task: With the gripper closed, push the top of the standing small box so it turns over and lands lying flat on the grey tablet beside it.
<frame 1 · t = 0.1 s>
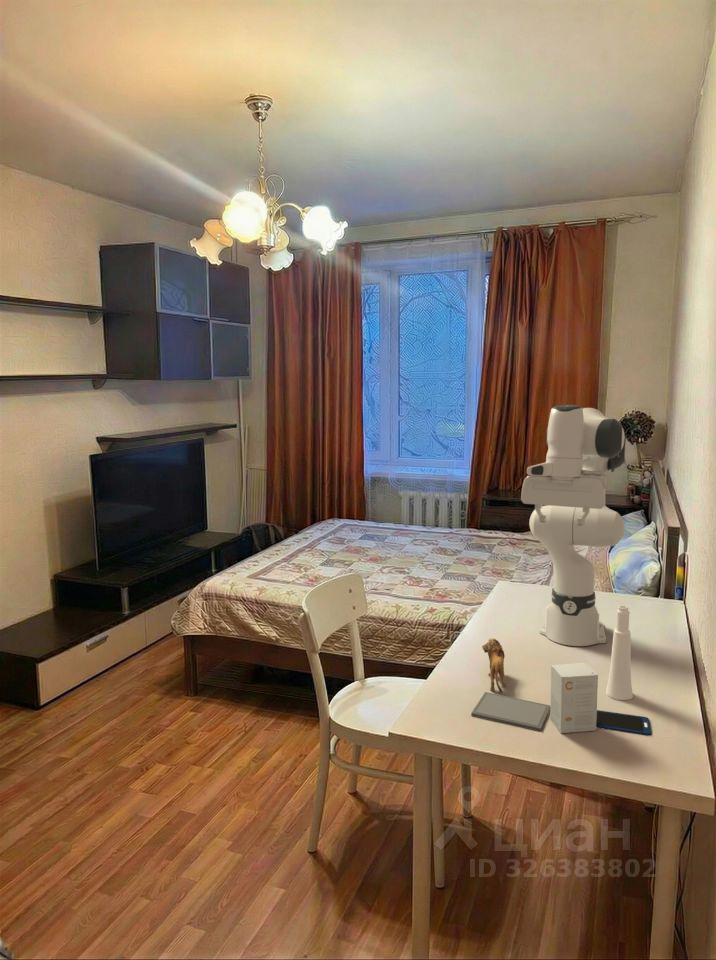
hand: (561, 524, 165), 39 cm above the table, tool pointing down, fingers open, 8 cm apart
grey tablet: (511, 711, 149), on the table
cosmetic bottle: (619, 695, 157), on the table
lion figurine: (494, 680, 165), on the table
cell phone: (616, 724, 144), on the table
small box: (572, 725, 143), on the table
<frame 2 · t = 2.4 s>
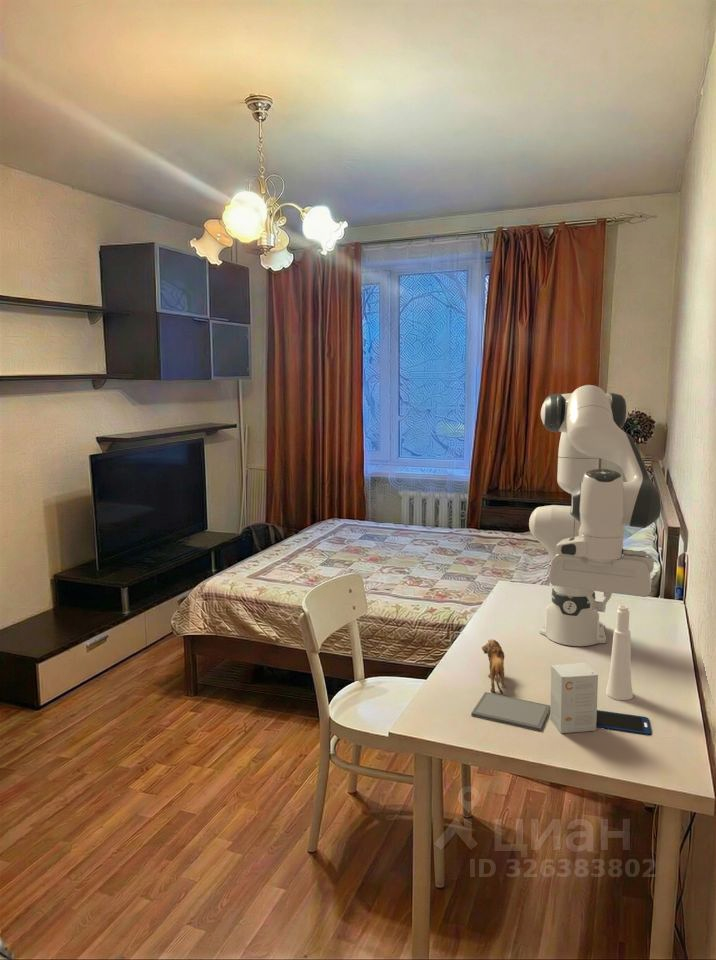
hand: (597, 610, 139), 26 cm above the table, tool pointing down, fingers closed
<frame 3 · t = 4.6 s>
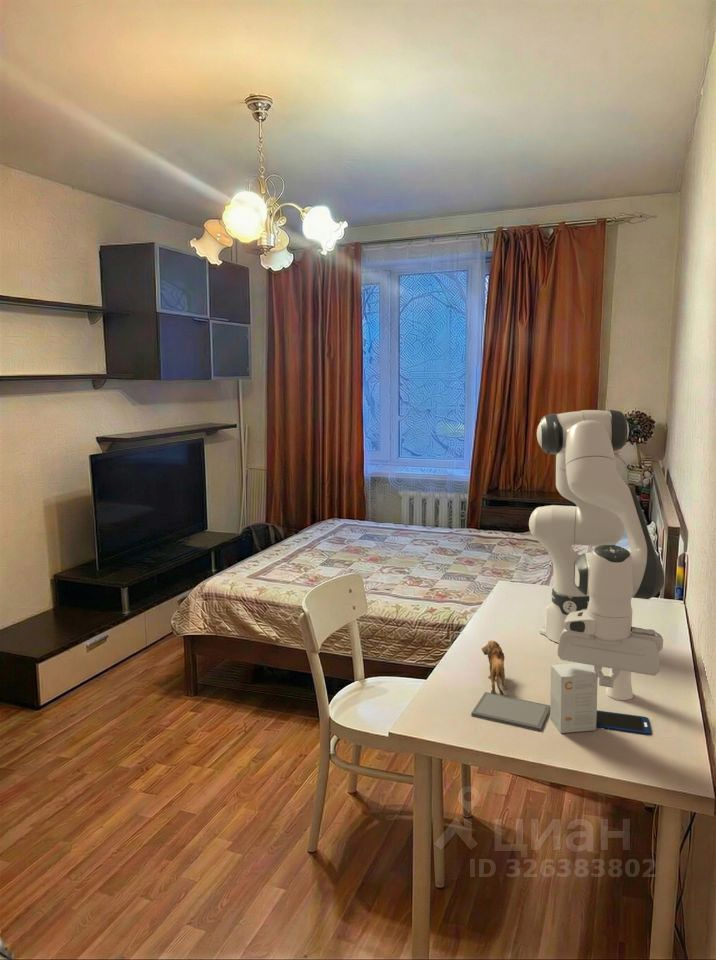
hand: (606, 685, 139), 11 cm above the table, tool pointing down, fingers closed
small box: (572, 725, 143), on the table, touching gripper
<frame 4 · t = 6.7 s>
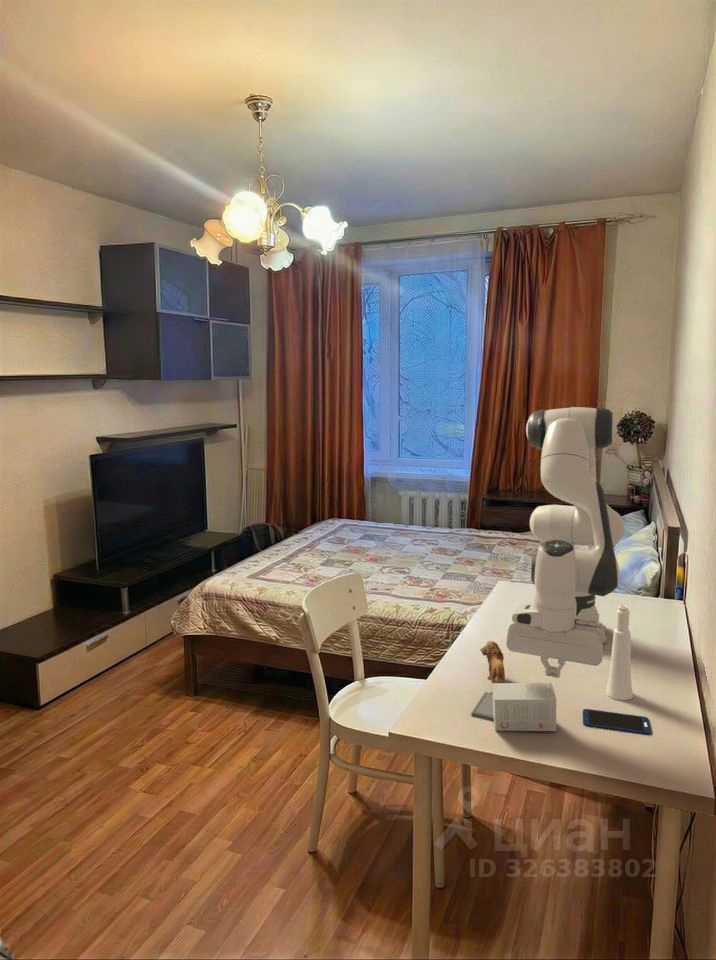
hand: (552, 675, 144), 11 cm above the table, tool pointing down, fingers closed
small box: (555, 706, 141), point 5 cm above the table, touching grey tablet
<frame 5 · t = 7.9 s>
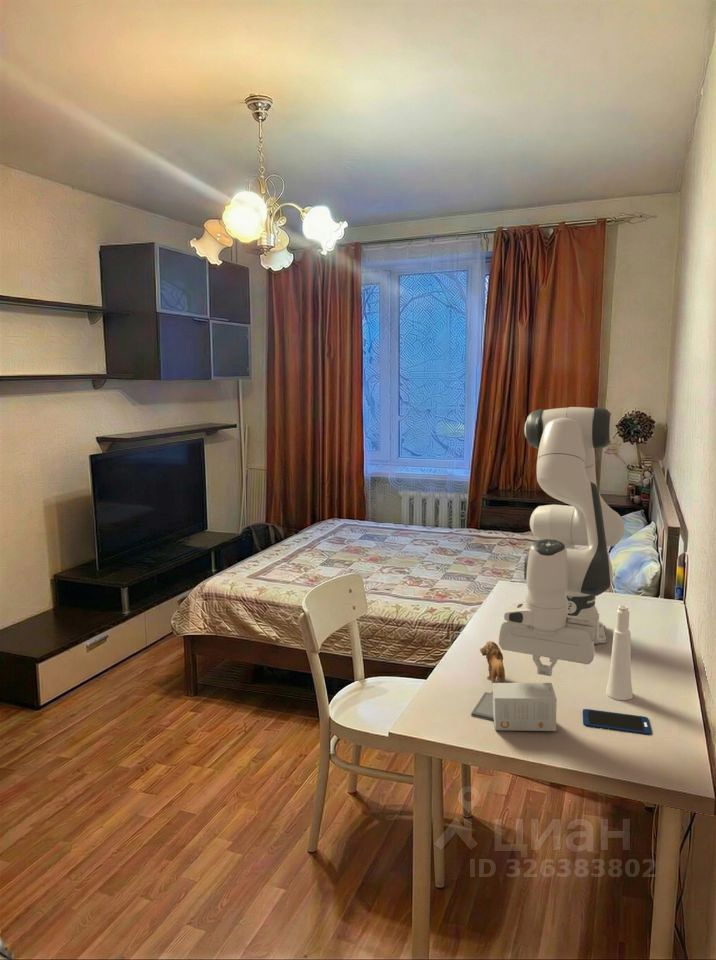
hand: (544, 674, 145), 11 cm above the table, tool pointing down, fingers closed
small box: (555, 706, 142), point 5 cm above the table, touching grey tablet
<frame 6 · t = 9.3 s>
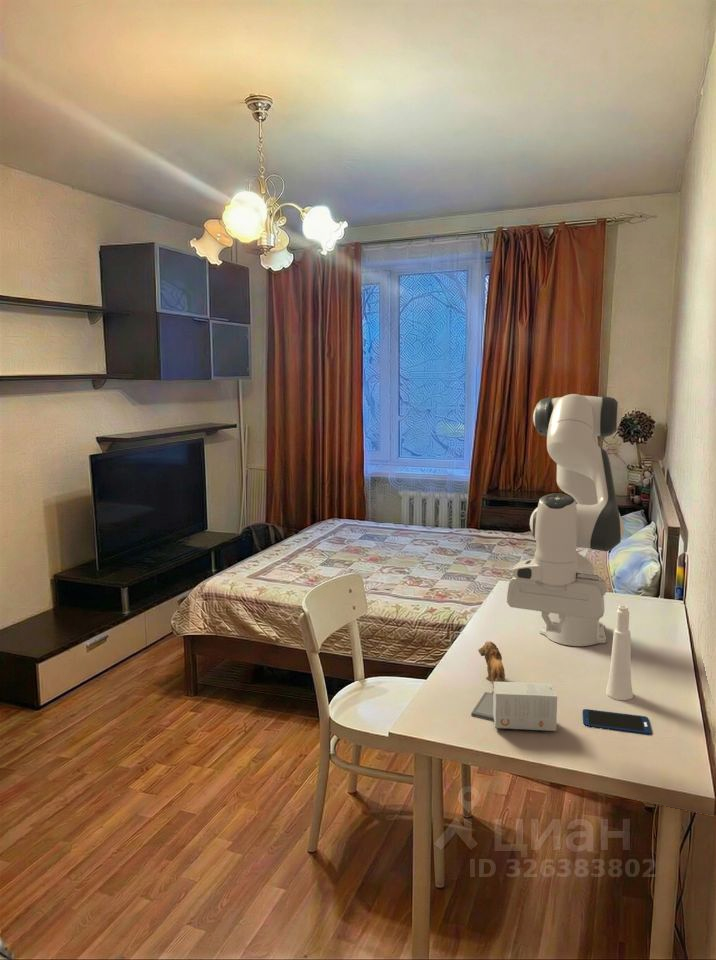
hand: (553, 631, 142), 21 cm above the table, tool pointing down, fingers closed
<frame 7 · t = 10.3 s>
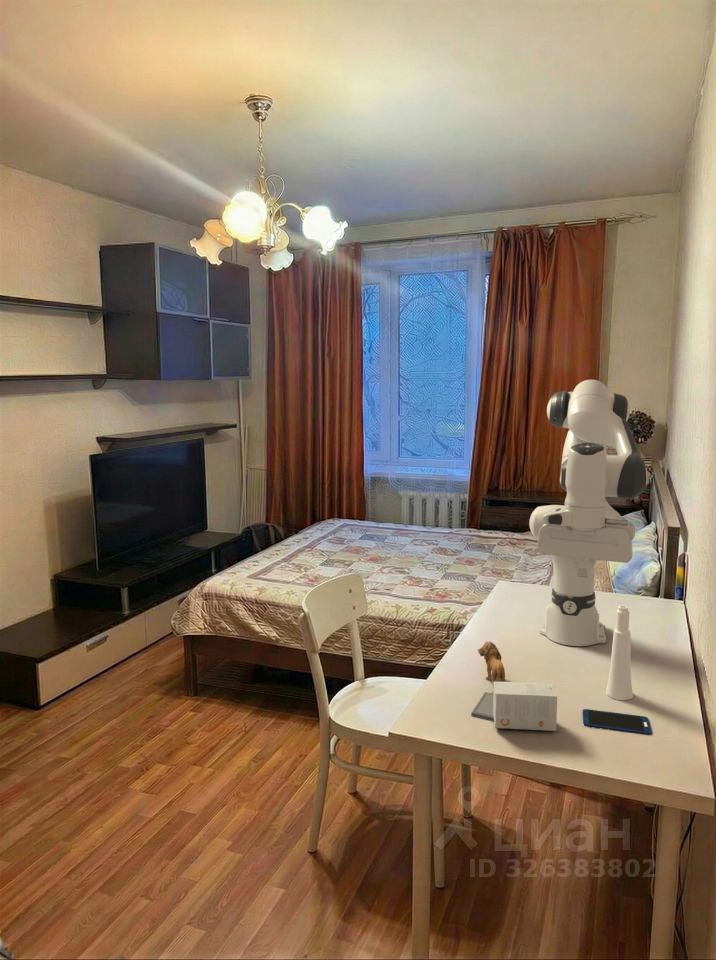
hand: (582, 576, 147), 31 cm above the table, tool pointing down, fingers closed
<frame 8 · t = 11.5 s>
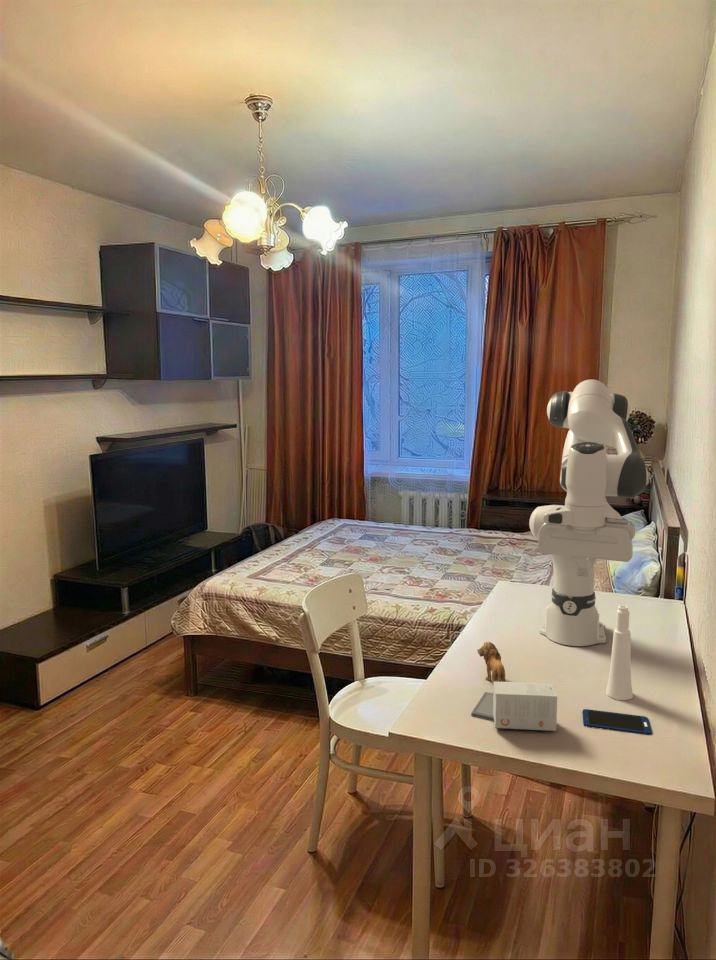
hand: (583, 575, 147), 31 cm above the table, tool pointing down, fingers closed
lion figurine: (493, 684, 163), on the table, touching grey tablet
everything else where it was.
at the end: small box tilted 90°; small box 10.5 cm from the grey tablet (horizontally); the gripper is holding nothing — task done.
